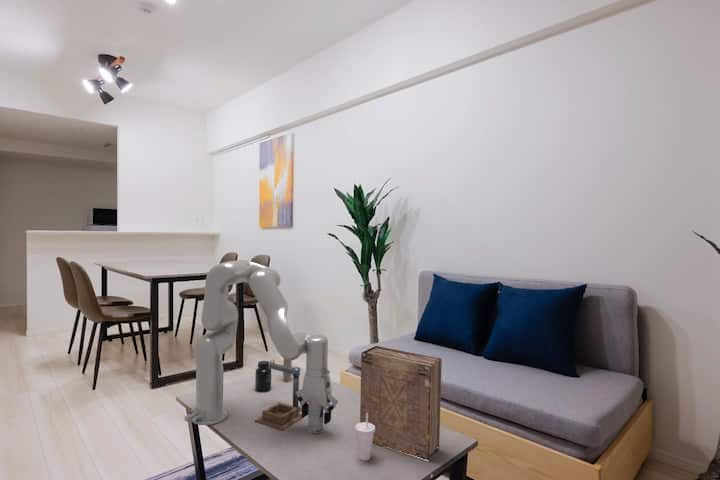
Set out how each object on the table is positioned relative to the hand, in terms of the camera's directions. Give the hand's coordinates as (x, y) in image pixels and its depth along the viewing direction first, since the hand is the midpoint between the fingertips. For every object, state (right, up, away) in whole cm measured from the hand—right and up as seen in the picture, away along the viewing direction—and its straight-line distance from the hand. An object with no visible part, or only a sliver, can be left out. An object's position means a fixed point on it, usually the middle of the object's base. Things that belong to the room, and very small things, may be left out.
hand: (316, 419), depth 144 cm
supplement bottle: (-27, -3, +36) cm, 45 cm away
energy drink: (0, -4, 0) cm, 4 cm away
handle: (-19, -3, +47) cm, 51 cm away
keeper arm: (-15, +11, +18) cm, 26 cm away
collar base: (-13, -3, +10) cm, 17 cm away
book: (+29, -5, -8) cm, 30 cm away
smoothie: (+17, -5, -16) cm, 24 cm away
